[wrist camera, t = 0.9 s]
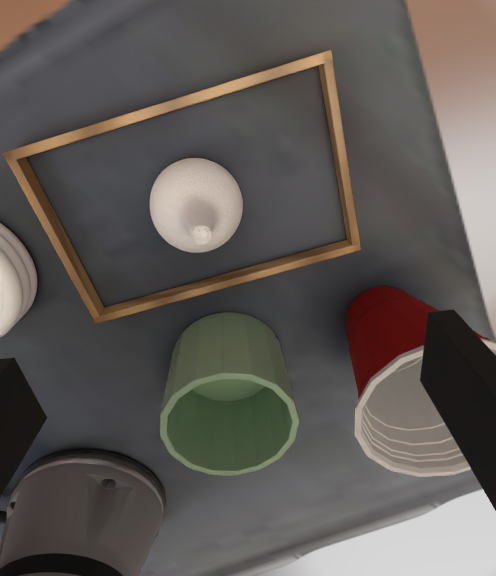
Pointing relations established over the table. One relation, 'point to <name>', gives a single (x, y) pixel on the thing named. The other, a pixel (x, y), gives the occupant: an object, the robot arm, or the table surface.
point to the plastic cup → (397, 386)
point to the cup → (228, 397)
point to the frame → (30, 181)
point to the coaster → (14, 280)
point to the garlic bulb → (196, 205)
